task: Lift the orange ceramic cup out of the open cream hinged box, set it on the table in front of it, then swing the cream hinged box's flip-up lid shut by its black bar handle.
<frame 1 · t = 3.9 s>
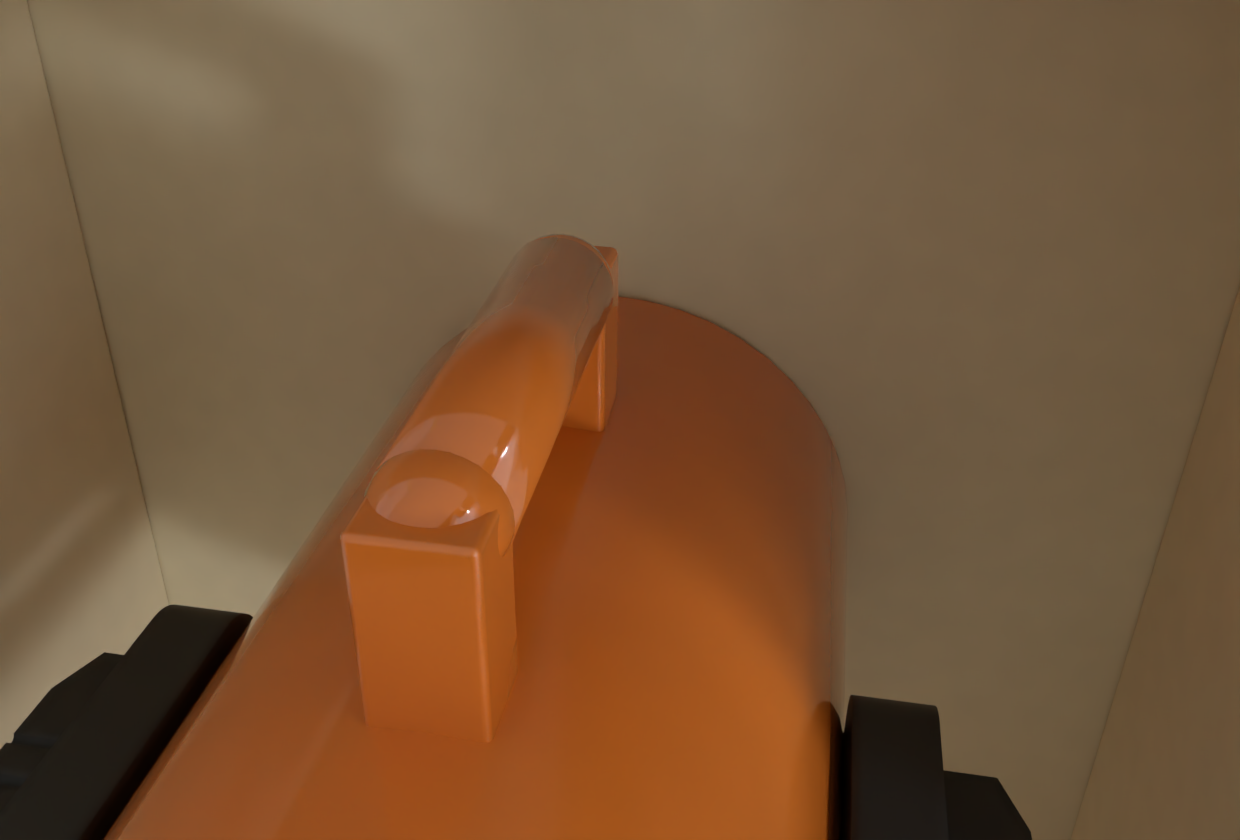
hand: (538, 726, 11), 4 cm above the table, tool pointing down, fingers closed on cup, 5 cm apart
cream hinged box: (624, 467, 14), on the table
cup: (612, 503, 14), point 1 cm above the table, touching cream hinged box, gripper
when the fingers open (4 cm above the table, at t = 11.7 s): cup stays where it is, on the table.
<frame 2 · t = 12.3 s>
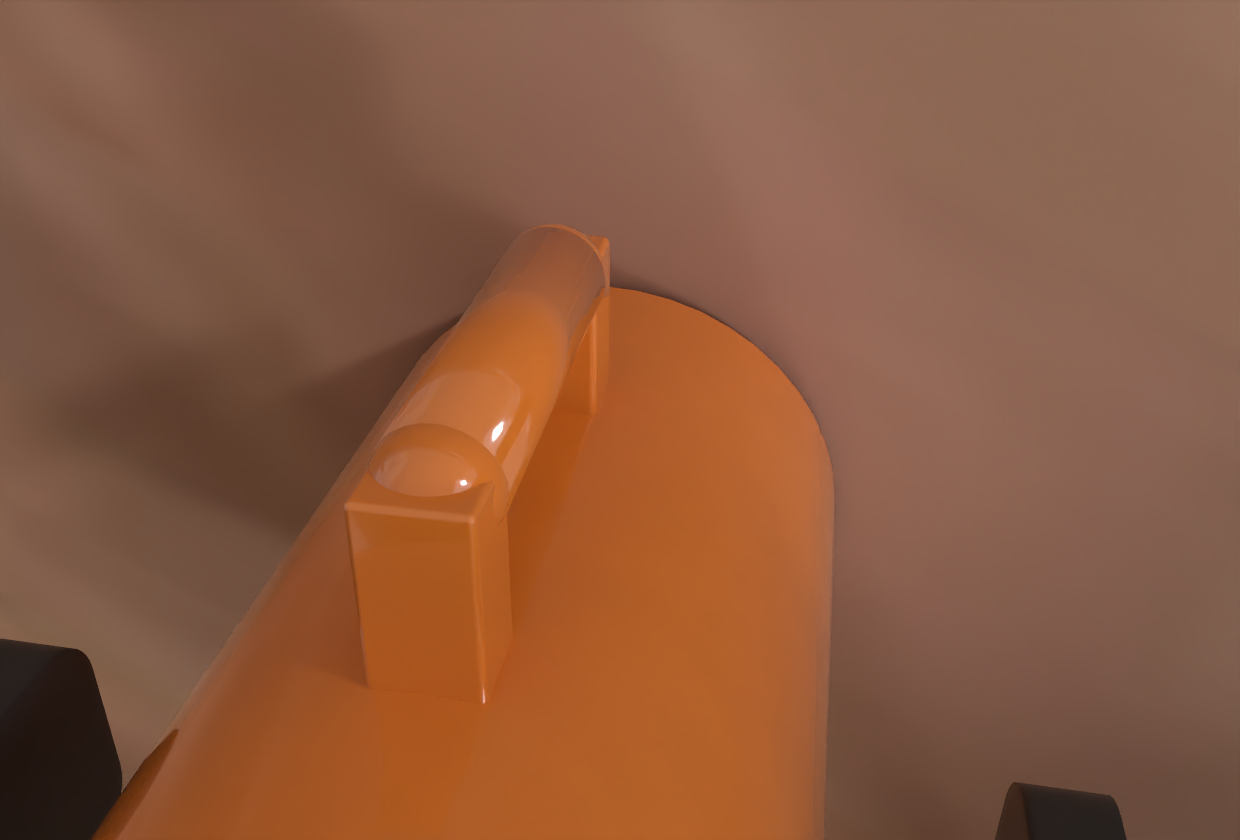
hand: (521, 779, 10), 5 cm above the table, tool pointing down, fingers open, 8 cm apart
cup: (606, 490, 14), on the table
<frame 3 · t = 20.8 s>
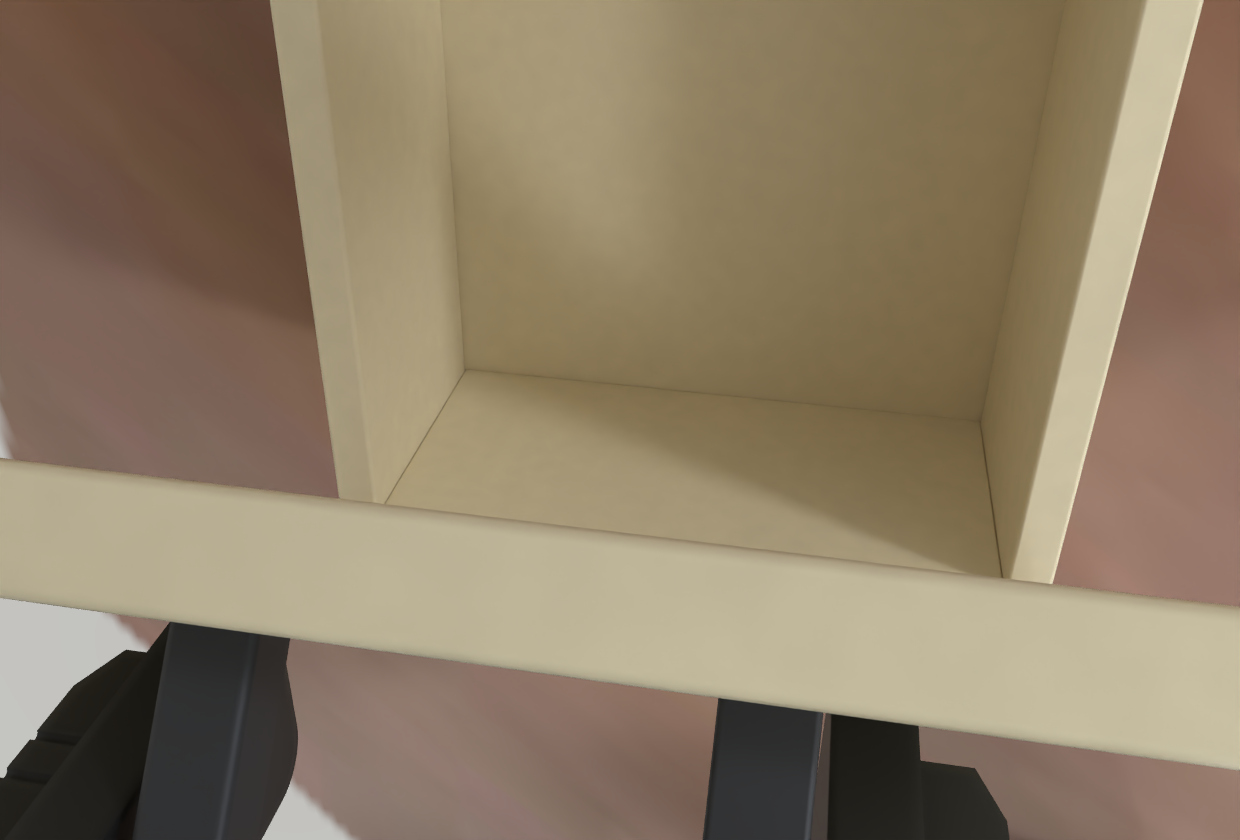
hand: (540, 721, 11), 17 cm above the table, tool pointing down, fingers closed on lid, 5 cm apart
cream hinged box: (736, 82, 24), on the table
lid: (593, 769, 14), point 15 cm above the table, hinge at 50.0°, touching gripper
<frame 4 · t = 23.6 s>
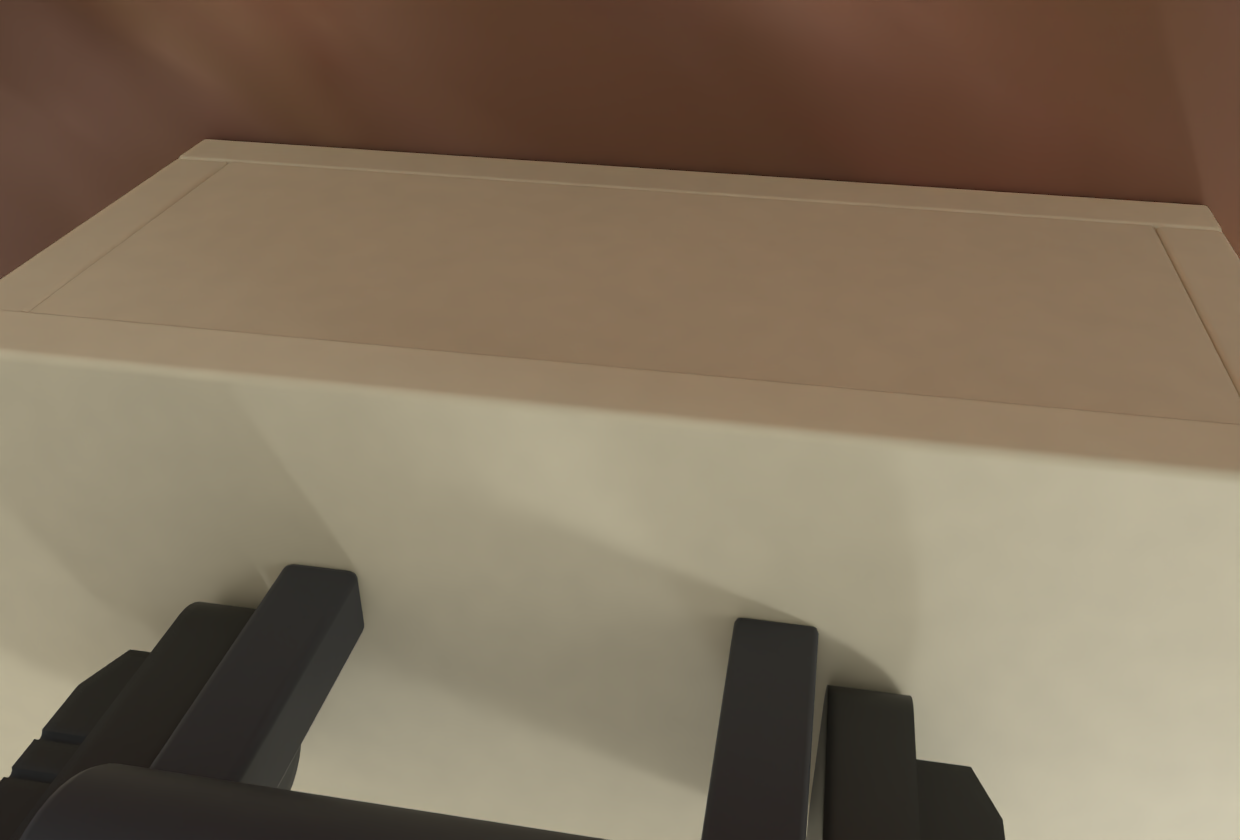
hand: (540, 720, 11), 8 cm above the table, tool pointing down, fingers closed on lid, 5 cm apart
cream hinged box: (661, 610, 20), on the table
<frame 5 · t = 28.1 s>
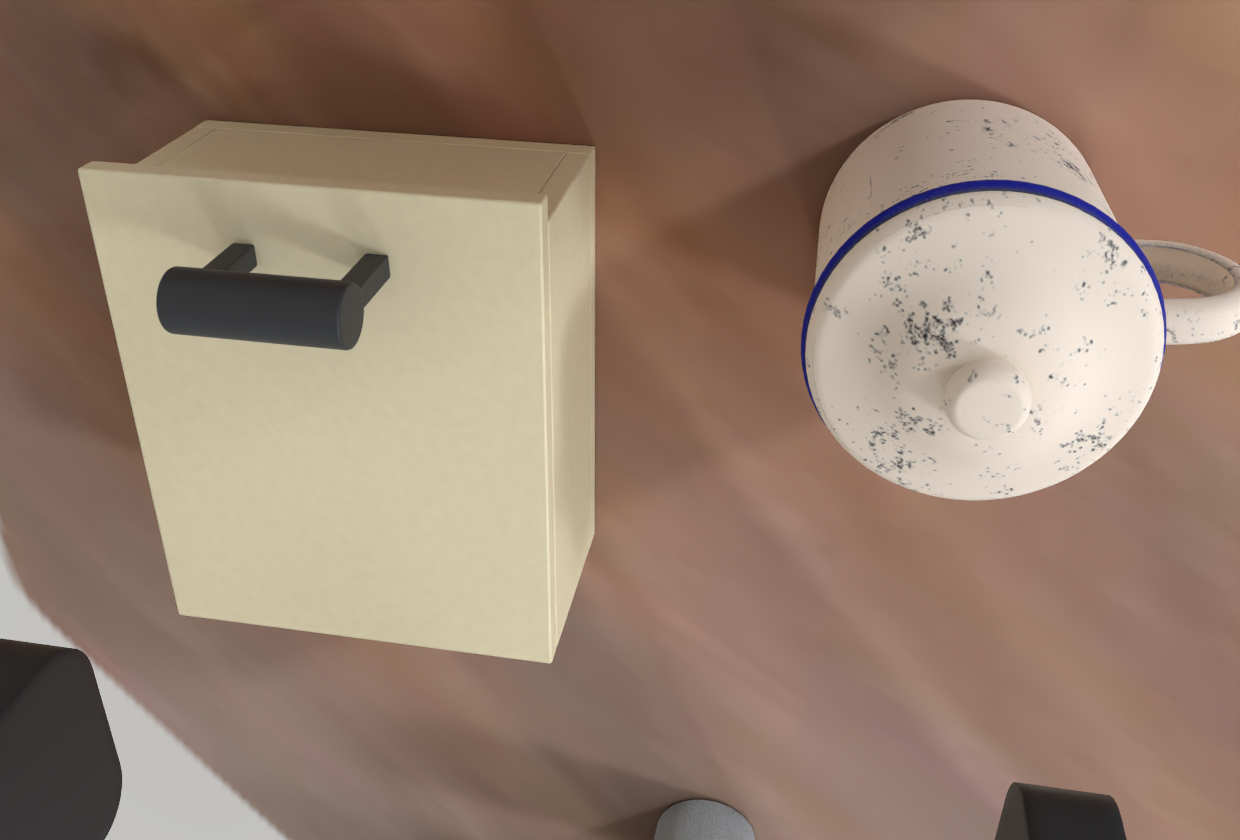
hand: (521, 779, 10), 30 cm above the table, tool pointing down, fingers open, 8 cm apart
cream hinged box: (413, 340, 44), on the table
planter: (706, 829, 54), on the table
teacup with lid: (1002, 226, 38), on the table
lid: (312, 467, 35), point 9 cm above the table, hinge at -0.2°, touching cream hinged box
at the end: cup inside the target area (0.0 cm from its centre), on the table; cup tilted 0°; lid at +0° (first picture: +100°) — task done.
